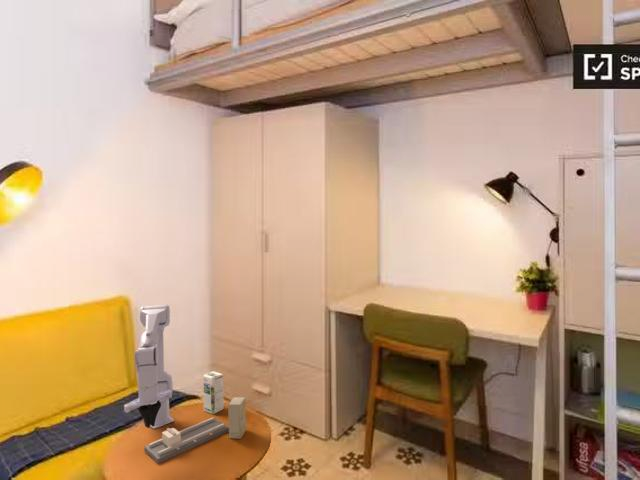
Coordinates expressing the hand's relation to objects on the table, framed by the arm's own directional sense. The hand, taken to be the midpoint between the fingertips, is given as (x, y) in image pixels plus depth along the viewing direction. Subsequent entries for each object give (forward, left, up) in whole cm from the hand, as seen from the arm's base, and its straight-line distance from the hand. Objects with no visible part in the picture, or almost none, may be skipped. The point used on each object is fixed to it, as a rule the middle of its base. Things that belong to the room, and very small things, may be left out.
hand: (149, 425), depth 132 cm
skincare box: (+9, +27, -11) cm, 30 cm away
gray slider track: (0, +13, -10) cm, 17 cm away
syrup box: (-13, +31, -11) cm, 35 cm away
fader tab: (0, +7, -9) cm, 11 cm away
